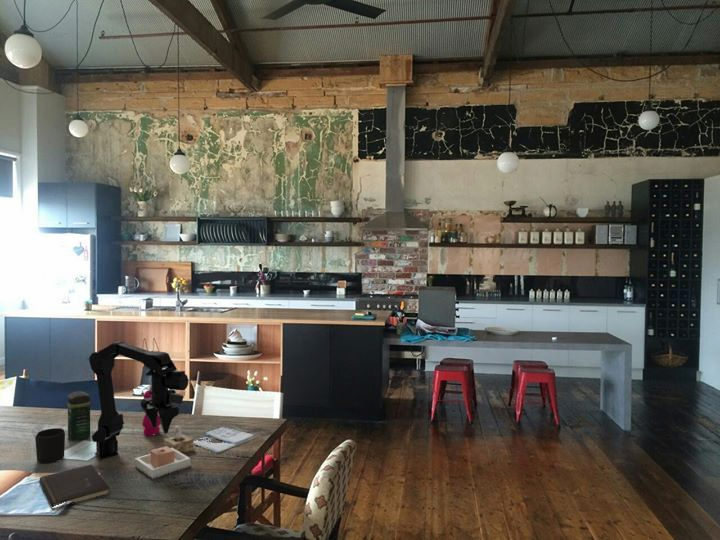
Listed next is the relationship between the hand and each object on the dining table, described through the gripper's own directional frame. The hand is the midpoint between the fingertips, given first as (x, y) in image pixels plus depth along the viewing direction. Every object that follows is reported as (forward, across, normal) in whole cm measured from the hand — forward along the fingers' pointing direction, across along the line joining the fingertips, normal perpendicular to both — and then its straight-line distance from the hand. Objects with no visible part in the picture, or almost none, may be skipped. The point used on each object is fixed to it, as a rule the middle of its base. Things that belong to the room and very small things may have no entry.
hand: (160, 430), depth 189 cm
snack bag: (+13, +3, -27) cm, 30 cm away
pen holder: (+12, +31, +27) cm, 43 cm away
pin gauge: (+10, +6, -10) cm, 16 cm away
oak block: (+12, +6, -10) cm, 17 cm away
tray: (+12, -4, +1) cm, 13 cm away
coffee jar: (+12, +47, +12) cm, 50 cm away
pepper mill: (+12, +31, -11) cm, 35 cm away
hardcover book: (+13, +1, +29) cm, 31 cm away
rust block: (+11, -4, +1) cm, 12 cm away
